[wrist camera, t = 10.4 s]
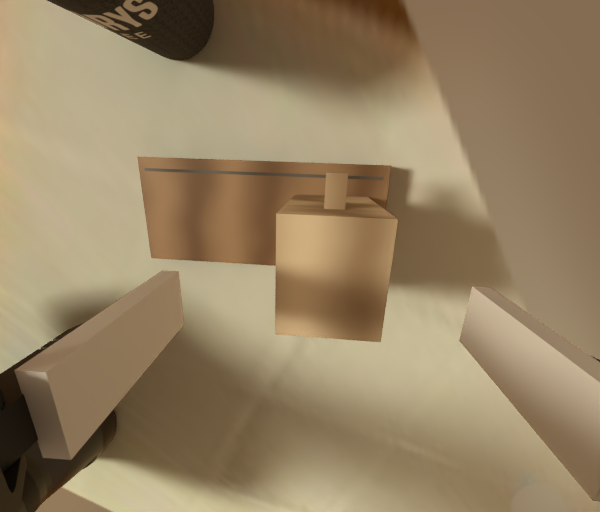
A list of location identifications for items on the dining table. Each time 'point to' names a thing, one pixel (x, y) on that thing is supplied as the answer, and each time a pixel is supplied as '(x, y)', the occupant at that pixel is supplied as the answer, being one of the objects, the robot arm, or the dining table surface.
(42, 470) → the robot arm
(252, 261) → the plank
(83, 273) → the dining table surface
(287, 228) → the tan block with peg
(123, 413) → the dining table surface
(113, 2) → the coffee cup
